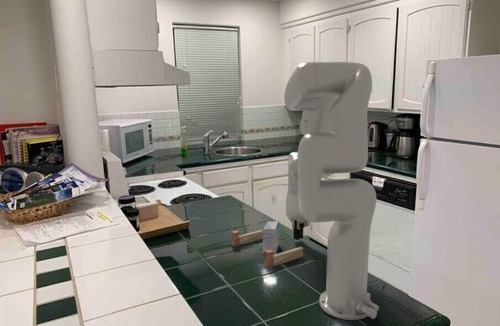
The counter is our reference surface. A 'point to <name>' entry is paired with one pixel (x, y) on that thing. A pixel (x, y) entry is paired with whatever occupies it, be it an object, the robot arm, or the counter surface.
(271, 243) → the medicine box
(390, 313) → the counter surface
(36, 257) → the counter surface
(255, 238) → the channel
